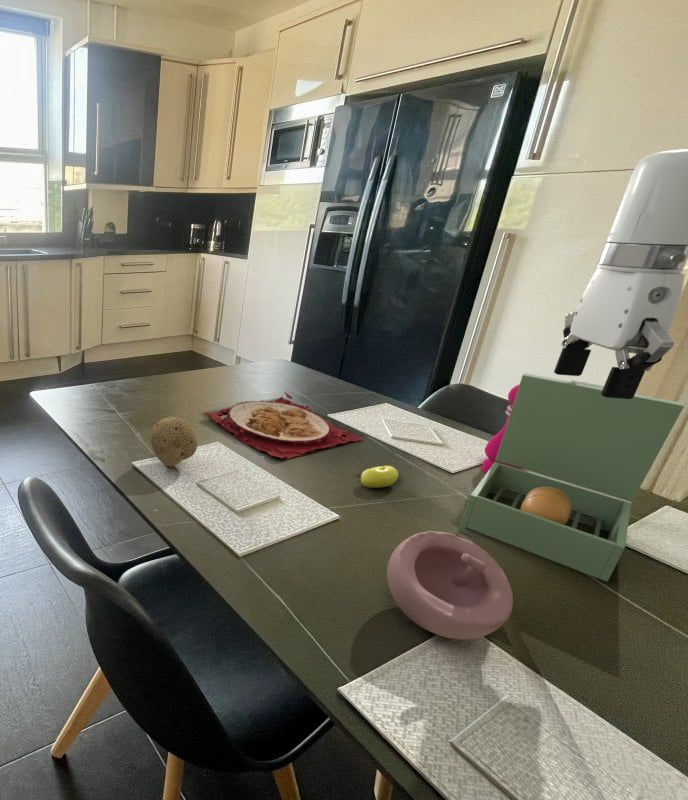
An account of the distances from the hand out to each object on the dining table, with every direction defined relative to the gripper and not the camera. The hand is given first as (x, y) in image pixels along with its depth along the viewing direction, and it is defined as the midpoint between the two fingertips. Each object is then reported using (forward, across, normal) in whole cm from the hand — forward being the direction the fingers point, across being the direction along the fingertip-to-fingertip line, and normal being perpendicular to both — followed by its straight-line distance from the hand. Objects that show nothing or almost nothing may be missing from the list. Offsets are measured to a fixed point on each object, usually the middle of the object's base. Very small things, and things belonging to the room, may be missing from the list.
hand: (589, 385), depth 68 cm
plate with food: (+25, +31, +34) cm, 52 cm away
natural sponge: (+25, +8, +57) cm, 63 cm away
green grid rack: (+25, 0, 0) cm, 25 cm away
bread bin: (+25, 0, 0) cm, 25 cm away
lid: (+9, +4, -4) cm, 11 cm away
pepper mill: (+25, +21, -6) cm, 33 cm away
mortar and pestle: (+25, -24, +22) cm, 41 cm away
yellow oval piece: (+25, +10, +19) cm, 33 cm away
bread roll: (+21, -2, +1) cm, 22 cm away
